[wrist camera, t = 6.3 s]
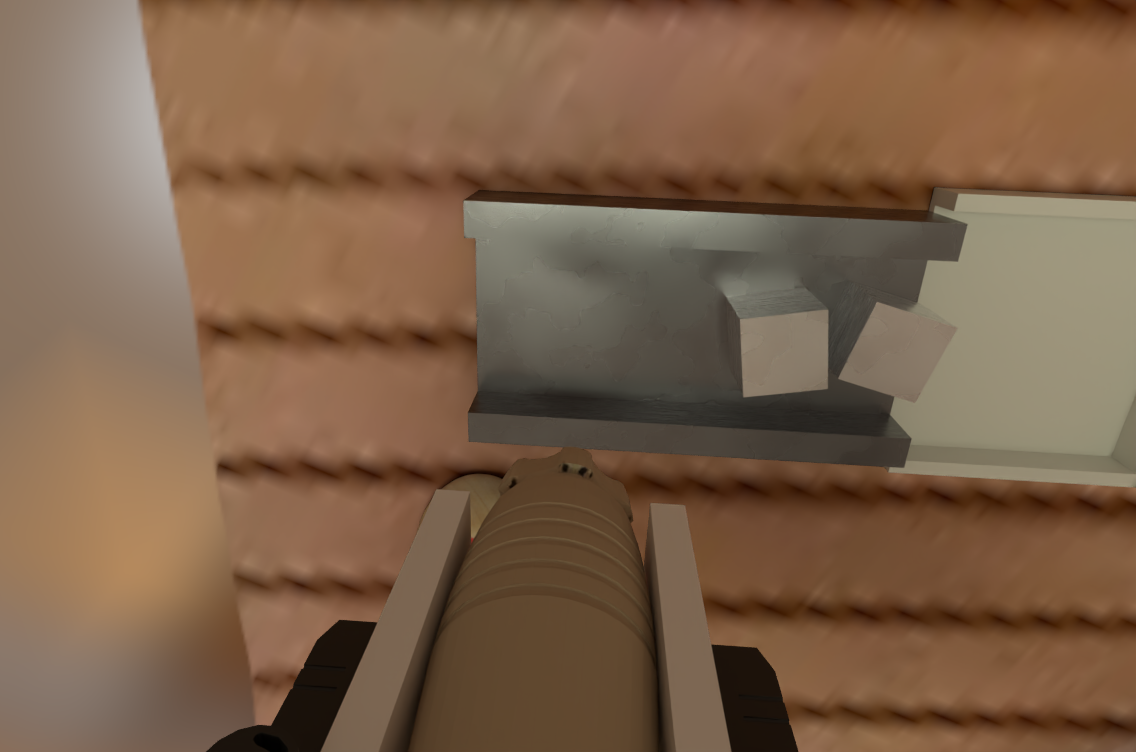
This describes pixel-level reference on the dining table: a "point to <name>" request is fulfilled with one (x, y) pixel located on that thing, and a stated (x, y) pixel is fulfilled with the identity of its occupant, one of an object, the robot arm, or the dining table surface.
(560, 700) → the handle
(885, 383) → the pale grey cube
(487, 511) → the ladybug figurine
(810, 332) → the pale beige cube
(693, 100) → the dining table surface
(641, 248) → the rail
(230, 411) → the dining table surface
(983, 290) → the tray
